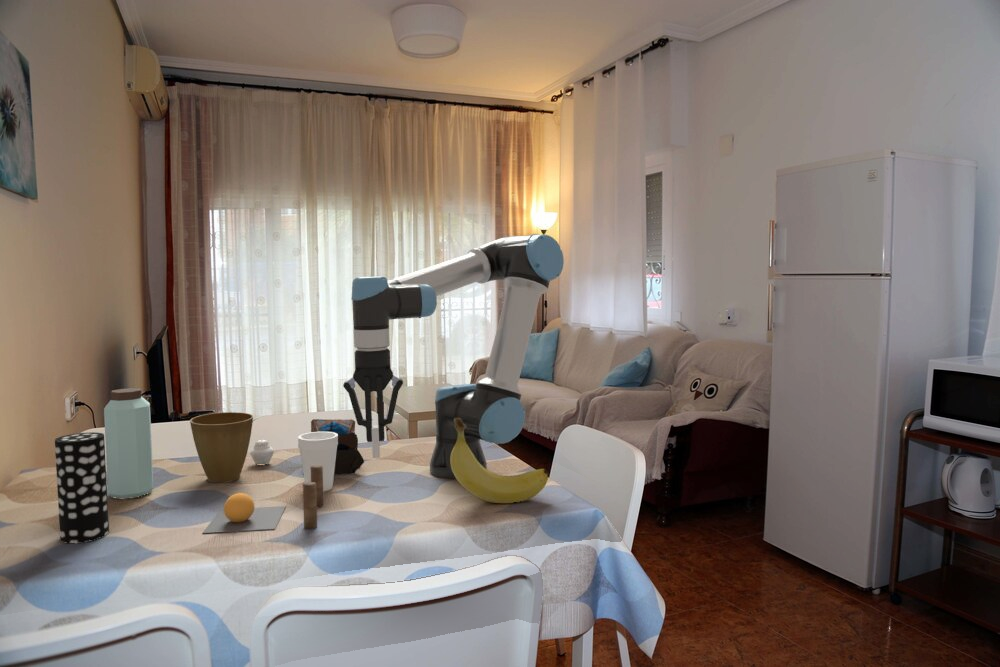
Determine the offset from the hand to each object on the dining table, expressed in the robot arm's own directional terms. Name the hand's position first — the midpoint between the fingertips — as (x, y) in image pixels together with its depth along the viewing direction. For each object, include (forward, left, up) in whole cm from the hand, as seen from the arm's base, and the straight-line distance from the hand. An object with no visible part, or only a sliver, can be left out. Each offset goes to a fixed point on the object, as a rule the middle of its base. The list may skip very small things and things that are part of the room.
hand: (376, 455), depth 146 cm
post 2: (+13, -6, -13) cm, 19 cm away
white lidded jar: (+32, -45, -13) cm, 57 cm away
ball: (+29, +1, -10) cm, 30 cm away
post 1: (+13, +7, -13) cm, 20 cm away
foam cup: (+14, -20, -13) cm, 28 cm away
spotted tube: (+57, +4, -13) cm, 59 cm away
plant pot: (+39, -32, -13) cm, 52 cm away
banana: (-28, -2, -13) cm, 30 cm away
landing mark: (+27, 0, -13) cm, 30 cm away
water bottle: (+58, -23, -13) cm, 64 cm away
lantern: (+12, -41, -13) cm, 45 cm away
